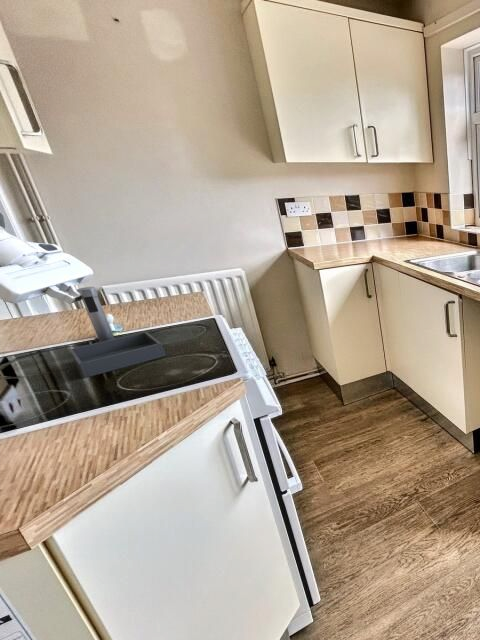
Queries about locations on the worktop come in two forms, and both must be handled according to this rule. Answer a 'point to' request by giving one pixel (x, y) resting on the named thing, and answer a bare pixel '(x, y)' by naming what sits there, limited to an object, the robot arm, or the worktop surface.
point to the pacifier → (113, 325)
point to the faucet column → (100, 322)
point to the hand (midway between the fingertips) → (77, 300)
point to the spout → (89, 297)
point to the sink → (116, 353)
